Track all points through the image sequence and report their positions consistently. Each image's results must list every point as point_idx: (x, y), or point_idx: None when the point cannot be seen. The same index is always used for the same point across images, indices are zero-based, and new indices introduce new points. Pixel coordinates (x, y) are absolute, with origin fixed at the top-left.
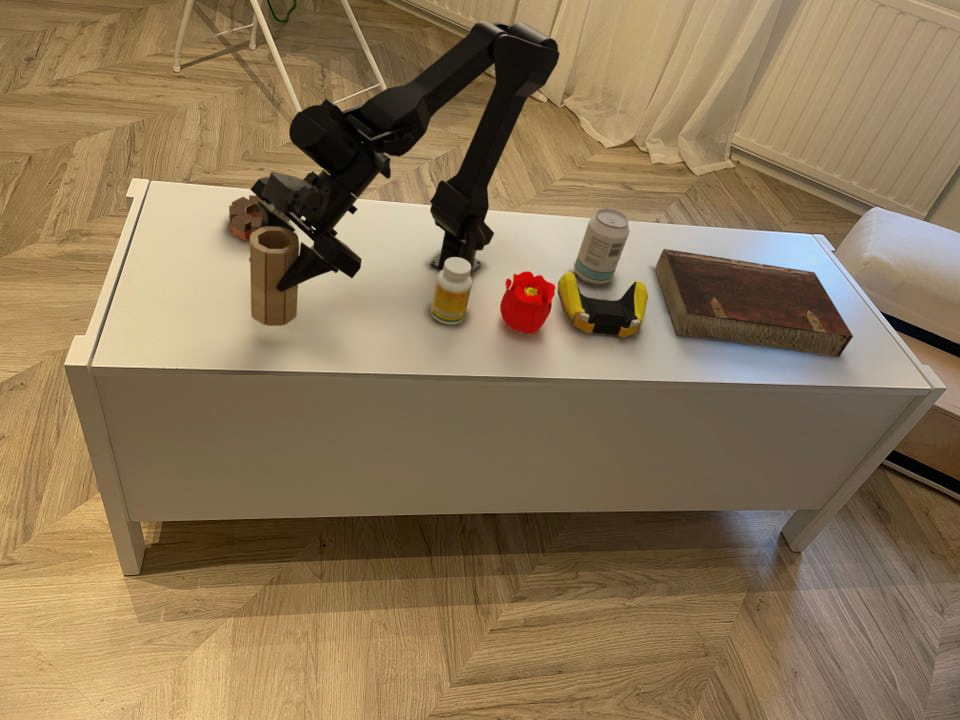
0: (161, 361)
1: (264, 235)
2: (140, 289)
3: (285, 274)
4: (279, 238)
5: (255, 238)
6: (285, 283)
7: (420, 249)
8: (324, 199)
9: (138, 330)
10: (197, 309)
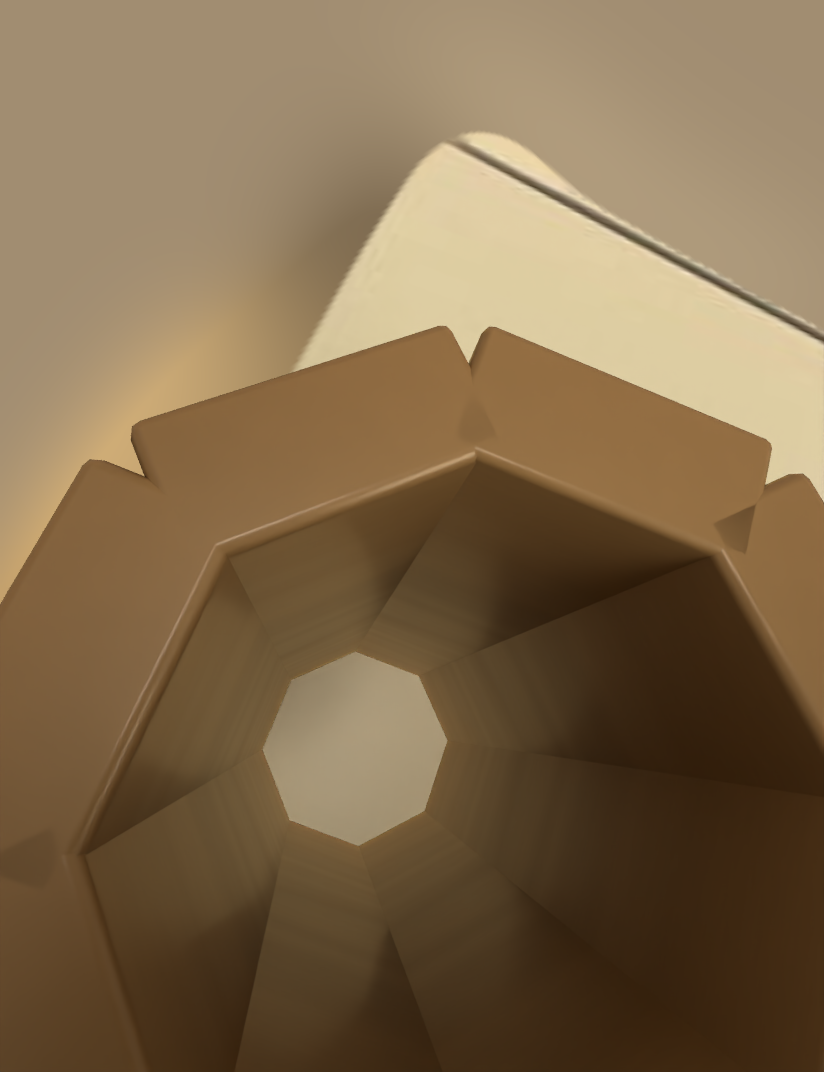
0: (364, 294)
1: (754, 725)
2: (758, 378)
3: None
4: (685, 1009)
5: (638, 474)
6: None
7: None
8: None
9: (546, 294)
10: None
